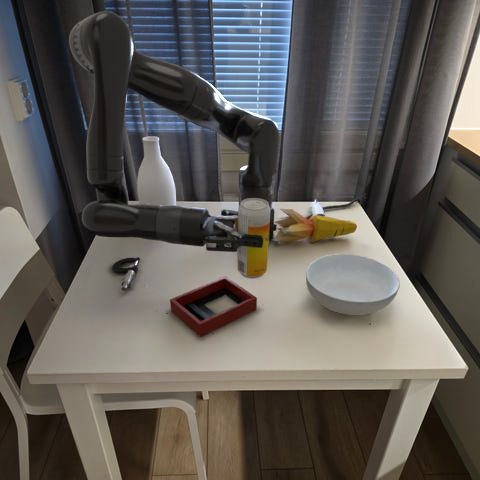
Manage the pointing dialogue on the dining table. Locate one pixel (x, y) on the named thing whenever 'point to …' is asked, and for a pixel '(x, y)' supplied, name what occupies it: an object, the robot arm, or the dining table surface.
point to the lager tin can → (253, 223)
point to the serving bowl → (351, 283)
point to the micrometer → (126, 271)
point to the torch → (310, 227)
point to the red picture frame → (204, 319)
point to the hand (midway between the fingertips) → (265, 234)
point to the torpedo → (317, 208)
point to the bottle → (155, 176)
